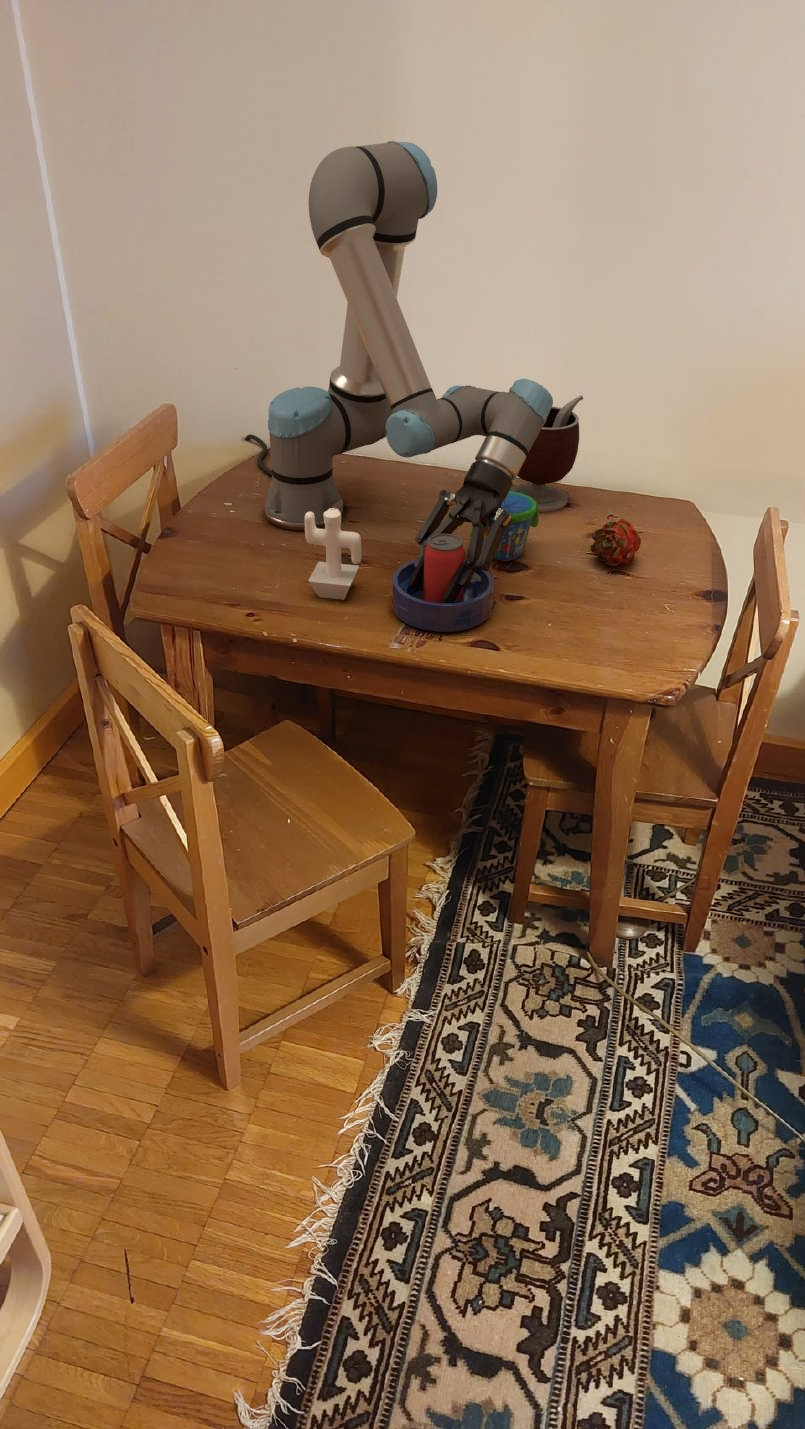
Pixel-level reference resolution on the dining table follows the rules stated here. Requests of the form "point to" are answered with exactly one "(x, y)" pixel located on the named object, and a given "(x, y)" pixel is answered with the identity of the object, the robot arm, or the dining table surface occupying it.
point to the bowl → (442, 614)
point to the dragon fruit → (616, 542)
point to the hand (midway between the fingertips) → (430, 595)
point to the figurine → (332, 555)
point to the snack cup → (515, 525)
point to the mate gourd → (551, 458)
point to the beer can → (441, 566)
